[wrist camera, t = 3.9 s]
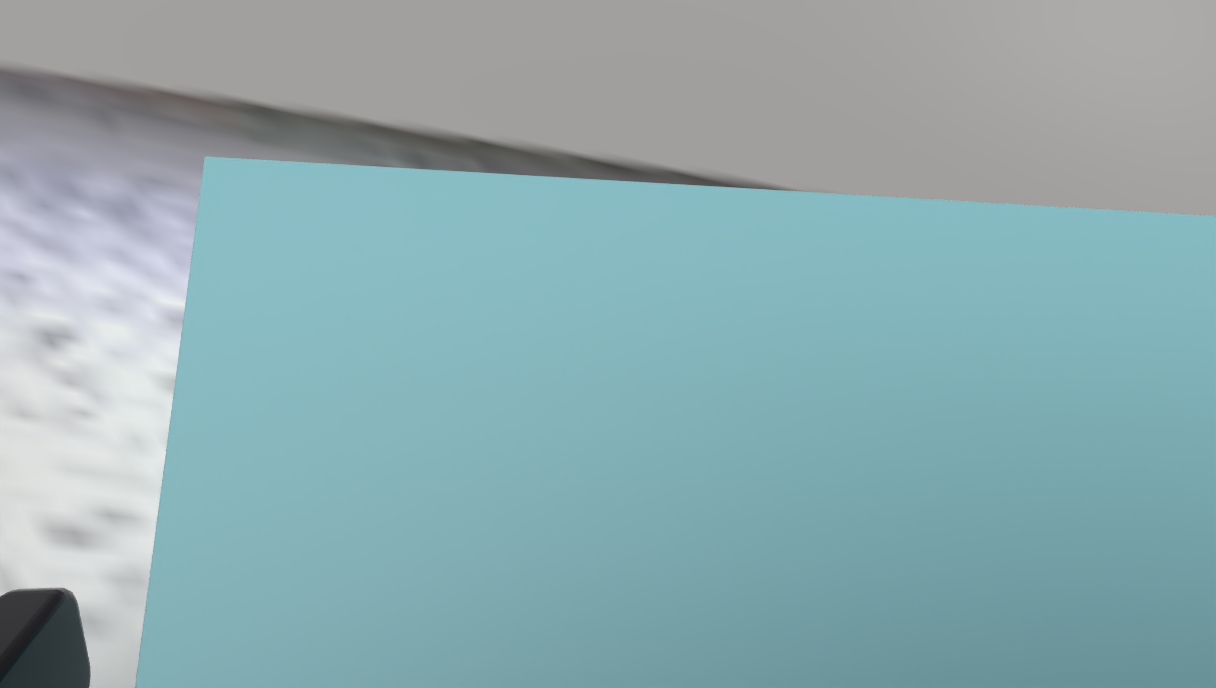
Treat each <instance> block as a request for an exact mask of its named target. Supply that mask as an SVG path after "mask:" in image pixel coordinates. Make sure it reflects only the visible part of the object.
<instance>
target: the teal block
mask: <svg viewBox="0 0 1216 688" xmlns="http://www.w3.org/2000/svg"><path fill="white" fill-rule="evenodd" d="M135 688H1216V216H1204V215H1187V214H1168V213H1153V212H1136V211H1119V210H1118V211H1117V210H1102V209H1085V208H1068V207H1051V206H1034V205H1017V204H999V203H983V202H966V201H949V200H933V199H915V198H898V197H882V196H865V195H848V194H831V193H814V192H797V191H780V190H763V189H746V188H729V187H712V186H695V185H678V184H661V183H645V182H628V181H611V180H594V179H577V178H560V177H543V176H526V175H509V174H492V173H475V172H458V171H441V170H424V169H407V168H390V167H373V166H357V165H340V164H323V163H306V162H289V161H272V160H255V159H238V158H221V157H205V160H204V167H203V175H202V183H201V190H200V198H199V205H198V213H197V221H196V228H195V236H194V243H193V251H192V259H191V266H190V274H189V282H188V289H187V297H186V304H185V312H184V320H183V327H182V335H181V342H180V350H179V358H178V365H177V373H176V380H175V388H174V396H173V403H172V411H171V419H170V426H169V434H168V441H167V449H166V457H165V464H164V472H163V479H162V487H161V495H160V502H159V510H158V517H157V525H156V533H155V540H154V548H153V556H152V563H151V571H150V578H149V586H148V594H147V601H146V609H145V616H144V624H143V632H142V639H141V647H140V654H139V662H138V670H137V677H136V685H135Z"/></svg>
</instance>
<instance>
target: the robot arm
mask: <svg viewBox="0 0 1216 688" xmlns="http://www.w3.org/2000/svg"><path fill="white" fill-rule="evenodd" d="M89 686H90V662H89V657H88V652H87V647H86V642H85V637H84V632H83V627H82V622H81V617H80V612H79V607H78V603H77V600H76V598H75V596H74V595H73V593H72V592H71V591H69V590H67V589H65V588H37V589H18V590H13V591H10V592H7V593H6V594H4V595H2V596H0V688H89Z"/></svg>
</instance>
